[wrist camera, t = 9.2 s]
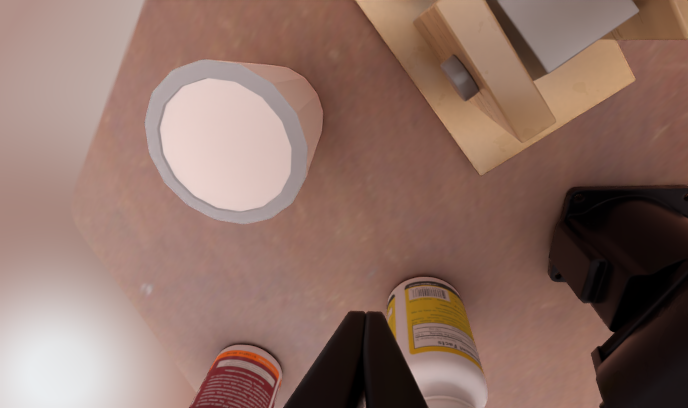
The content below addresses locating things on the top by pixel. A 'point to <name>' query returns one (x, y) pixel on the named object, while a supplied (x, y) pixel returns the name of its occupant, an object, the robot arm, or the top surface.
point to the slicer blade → (557, 28)
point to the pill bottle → (240, 380)
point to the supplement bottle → (437, 343)
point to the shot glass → (234, 137)
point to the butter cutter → (506, 70)
